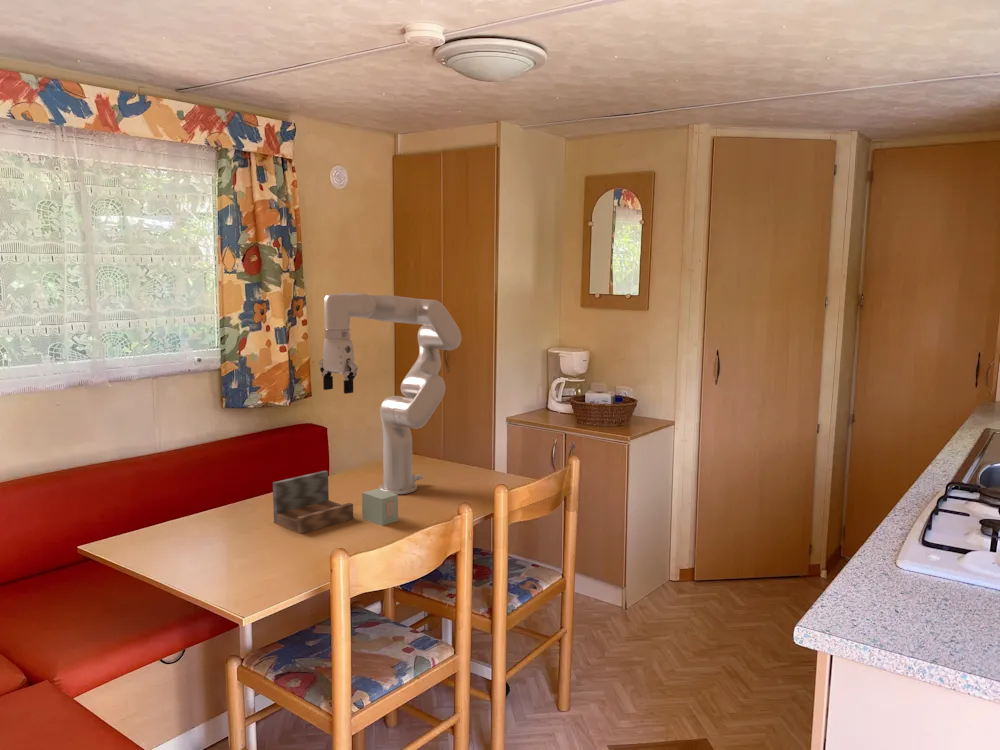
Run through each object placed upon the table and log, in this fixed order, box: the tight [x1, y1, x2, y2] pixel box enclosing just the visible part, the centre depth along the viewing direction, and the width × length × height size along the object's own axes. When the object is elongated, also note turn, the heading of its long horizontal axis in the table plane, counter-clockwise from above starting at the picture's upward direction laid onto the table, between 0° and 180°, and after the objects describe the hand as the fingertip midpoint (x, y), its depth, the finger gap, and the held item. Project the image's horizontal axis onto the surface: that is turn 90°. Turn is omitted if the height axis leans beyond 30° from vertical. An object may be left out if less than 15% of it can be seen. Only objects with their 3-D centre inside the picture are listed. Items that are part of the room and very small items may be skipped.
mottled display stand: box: [272, 470, 354, 535], centre depth 226 cm, size 18×14×12 cm
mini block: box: [361, 488, 399, 527], centre depth 228 cm, size 6×9×8 cm, turn 48°
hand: (338, 391), depth 236 cm, fingers open, 9 cm apart
